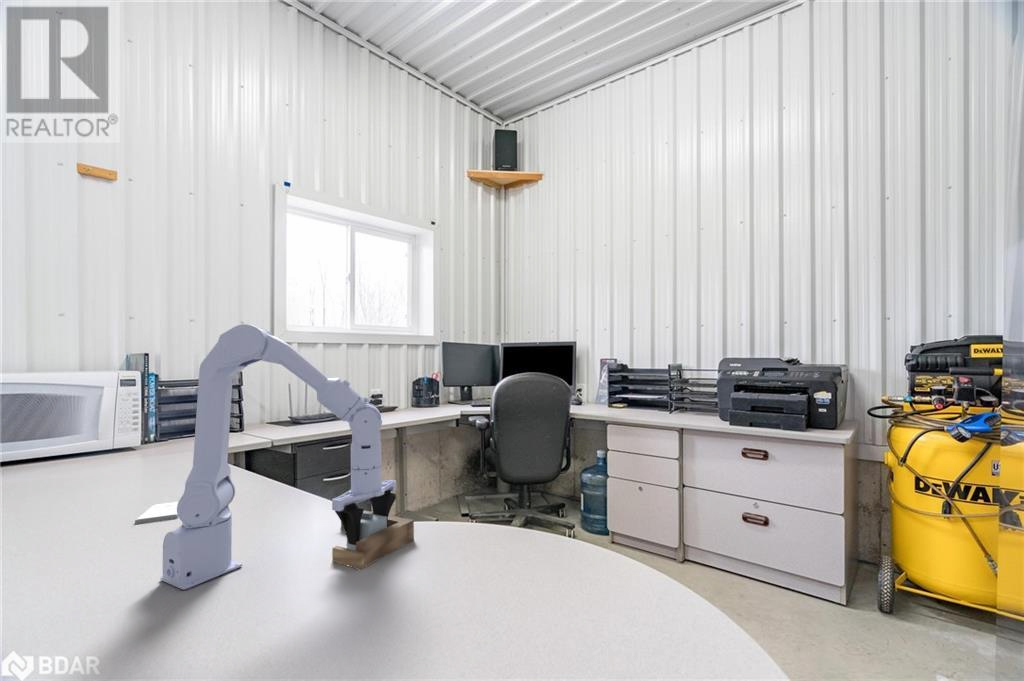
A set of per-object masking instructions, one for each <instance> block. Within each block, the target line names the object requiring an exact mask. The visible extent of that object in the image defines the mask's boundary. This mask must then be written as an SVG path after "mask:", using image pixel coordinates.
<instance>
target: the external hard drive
mask: <svg viewBox="0 0 1024 681" xmlns="http://www.w3.org/2000/svg"><path fill="white" fill-rule="evenodd" d="M178 502H179V501H173V502H172V501H171V502H164V503H157V504H156V503H155V504H153V505H152V506H150V507H149V508H148V509H147V510H145V511H144V512H143V513H142V514H141V515H140V516H138V517H137V518H136V519H135V520H134V525H137V524H138V525H139V524H146V523H154V522H161V521H169V520H175V519H179V517H178V514H177V505H178Z"/></svg>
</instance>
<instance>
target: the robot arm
mask: <svg viewBox="0 0 1024 681" xmlns="http://www.w3.org/2000/svg"><path fill="white" fill-rule="evenodd" d="M260 361H262V362H266V363H272V364H277V365H281V366H283V367H284V368H285V369H287V370H288V371H289V372H291V373H292V374H293V375H294V376H296V377H297V378H299V379H300V380H301V381H303V382H304V384H307V385H308V386H309V387H311V389H313V390H315V392H316V400H317V403H319V404H321V406H323V407H325V408H326V409H327V410H328V411H329V412H331V413H332V414H333V415H334V416H336V417H337V418H338V419H340V421H343V422H348V425H349V428H350V429H349V430H350V431H351V444H350V489H349V490H348V491H346V492H345V493H343V494H341V495H339V496H337V497H334V498H332V499H331V503H332V504H331V509H332V511H334V512H335V514H336V515H337V517H338V519H339V520H340V523H341V522H342V524H343V527H344V529H343V530H344V532H345V535H346V541H347V540H348V544H352V545H356V542H357V541H359V538H360V523H361V518H362V514H363V511H364V510H365V508H361V507H359V506H358V505H357V504H359V503H362V502H365V501H368V500H370V505H371V507H372V512H373V514H376V515H381V516H386V517H387V518H388V515H390V512H391V509H392V506H393V505H394V503H395V501H396V499H397V494H396V493H393V492H395V491H397V480H394V479H387V480H383V479H382V470H383V469H382V459H383V458H382V441H381V437H382V436H381V435H382V433H381V427H382V425H383V419H382V415H381V412H380V410H379V409H378V408H377V407H376V405H375V404H373V403H371V402H369V401H370V399H369V398H368V397H367V396H364V397H363V396H362V395H360V394H359V393H358V392H357V391H355V390H354V389H353V388H352V387H350V385H351V382H349V381H348V380H347V379H344V380H342V379H341V378H340V377H332V378H329V377H327V376H326V375H325V374H324V373H322V371H321V370H320V369H318V368H317V367H316V366H315V365H314V364H312V362H310V361H309V360H307V359H306V357H304V356H303V355H302V354H301V353H300V352H298V350H296V349H295V348H294V347H293V346H291V345H290V344H289V343H287V342H286V341H284V340H282V339H280V338H279V337H277V336H275V335H273V334H272V333H271V332H270V331H268V330H266V329H264V328H262V327H257V326H255V325H252V324H250V323H249V324H246V323H243V324H238V325H236V326H233V327H231V328H230V329H228V330H226V331H225V332H223V333H221V334H220V335H219V337H218V340H217V342H216V344H215V345H214V346H213V347H212V349H211V350H210V352H209V353H207V355H206V356H205V358H204V359H203V360H202V361H201V363H200V365H199V372H198V386H197V402H196V413H195V414H196V415H195V426H194V427H195V428H194V429H195V433H194V443H193V460H192V467H191V470H190V472H189V474H188V476H187V478H186V480H185V482H184V490H183V493H182V496H181V497H180V499H179V500H178V501H177V502H178V505H177V514H178V519H179V520H180V521H181V523H182V524H181V525H180V526H179V527H177V528H175V529H173V530H171V531H169V532H167V533H166V534H165V536H164V538H163V542H162V576H160V581H163V582H165V583H167V584H169V585H171V586H174V587H176V588H178V589H181V590H182V591H183V590H187V589H191V588H192V587H196V586H198V585H201V584H202V583H205V582H207V581H209V580H212V579H214V578H216V577H217V578H218V577H219V576H222V575H224V574H226V573H229V572H232V571H234V570H236V569H238V568H241V567H243V563H242V562H240V561H237V560H234V559H232V544H233V542H232V540H233V539H232V537H233V536H232V533H233V532H232V524H233V523H232V521H233V520H232V516H233V515H232V511H231V510H230V507H229V505H230V504H231V503H232V501H233V500H234V498H235V495H236V486H235V484H234V482H233V481H232V476H231V473H232V472H231V470H232V469H231V467H230V465H229V463H228V459H229V442H230V441H229V440H230V429H231V428H230V427H231V411H232V410H231V409H232V396H233V395H232V393H233V381H234V380H233V378H234V376H236V374H238V373H240V372H242V370H244V369H245V368H247V367H248V366H250V365H252V364H255V363H257V362H260ZM382 480H383V481H382Z"/></svg>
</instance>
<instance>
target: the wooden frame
mask: <svg viewBox="0 0 1024 681" xmlns="http://www.w3.org/2000/svg"><path fill="white" fill-rule="evenodd" d="M364 511H365V512H370V513H373V511H370V510H365V509H364ZM414 521H415V520H414V519H410V518H405V517H399V516H396V515H395V516H394V515H390V514H389V515H388V518H387V528H385V529H383V530H381V531H379V532H377V533H374V534H372V535H370V536H368V537H366V538H364V539H362V540H360V541H357V542H356V551H355V550H352V549H348V548H347V547H343V546H340V545H336V546H333V547H332V548H331V549H332V551H331V552H332V554H331V555H332V562H333V563H335V562H336V563H335V564H339V563H341V564H340V565H342V564H345V565H344V566H346V565H349V566H352V567H355V568H354V569H356V568H358V569H357V570H359V569H360V570H362V569H364V568H365V566H366V565H367V566H369V565H371V564H372V562H373V561H375V560H377V559H378V560H380V559H382V558H384V557H385V556H384V555H386V554H388V553H389V554H391V553H393V552H395V551H397V550H399V549H401V548H402V547H404V546H406V545H408V544H410V543H412V542H414V541H415V529H414V528H415V526H414V525H415V524H414V523H415V522H414ZM341 528H344V527H343V524H342V522H341V521H340V529H341ZM411 541H412V542H411ZM409 542H410V543H409ZM407 543H408V544H407ZM405 544H406V545H405ZM403 545H404V546H403ZM401 546H402V547H401ZM400 547H401V548H400ZM398 548H399V549H398ZM396 549H397V550H396ZM394 550H395V551H394ZM392 551H393V552H392ZM390 552H391V553H390ZM389 554H388V555H389ZM383 556H384V557H383ZM386 556H387V555H386ZM381 557H382V558H381ZM379 558H380V559H379ZM378 560H377V561H378ZM375 562H376V561H375ZM370 563H371V564H370ZM373 563H374V562H373ZM368 564H369V565H368ZM349 566H348V567H349ZM367 566H366V567H367ZM352 567H351V568H352ZM363 567H364V568H363ZM361 568H362V569H361Z"/></svg>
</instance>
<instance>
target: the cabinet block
mask: <svg viewBox="0 0 1024 681" xmlns="http://www.w3.org/2000/svg"><path fill="white" fill-rule="evenodd" d="M365 511H366V510H365ZM365 511H363V514H362V518H361V523H360V538H359V541H360V540H362V539H364V538H366V537H368V536H370V535H372V534H374V533H377V532H379V531H381V530H383V529H385V528H387V517H386V516H381V515H376V514H373V513H370V512H371V511H370V512H365ZM346 548H348V549H352V550H355V551H356V545H352V544H348V540H347V539H346Z"/></svg>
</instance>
